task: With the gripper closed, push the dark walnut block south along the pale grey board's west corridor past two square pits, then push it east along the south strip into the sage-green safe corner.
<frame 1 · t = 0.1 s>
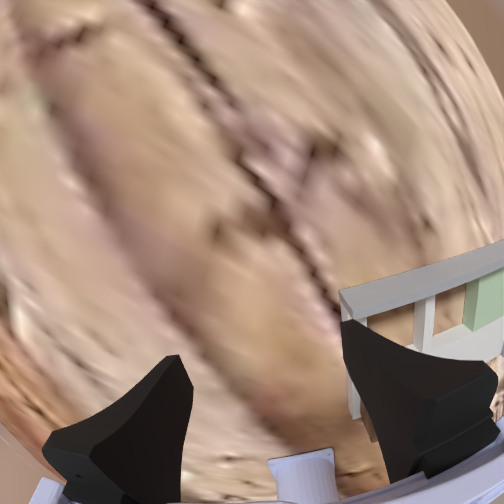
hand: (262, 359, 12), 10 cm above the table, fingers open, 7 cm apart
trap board: (437, 330, 23), on the table
walnut block: (382, 391, 23), point 2 cm above the table, touching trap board
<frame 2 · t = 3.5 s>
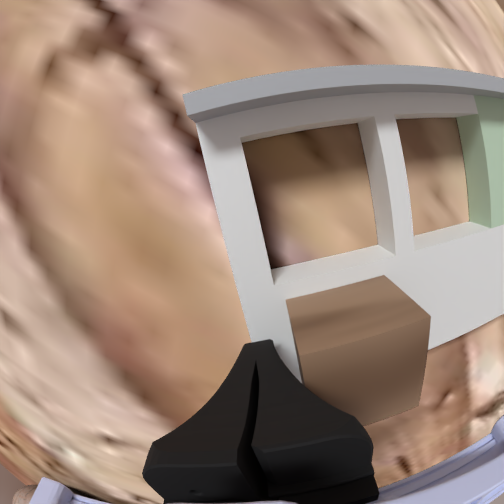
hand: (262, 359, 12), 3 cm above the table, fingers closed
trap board: (425, 223, 13), on the table
walnut block: (341, 331, 12), point 2 cm above the table, touching gripper
cooking pot: (86, 499, 24), on the table
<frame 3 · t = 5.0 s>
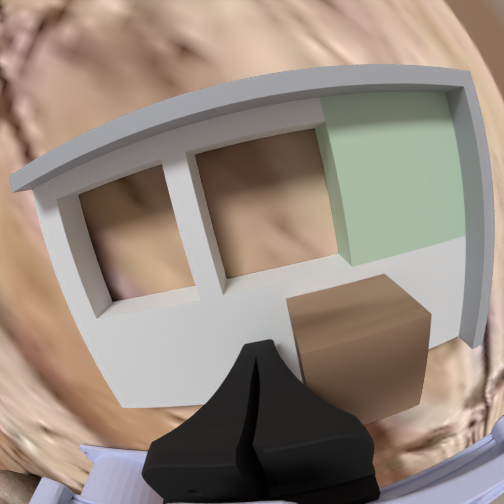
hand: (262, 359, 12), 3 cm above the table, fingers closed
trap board: (265, 260, 14), on the table
walnut block: (342, 329, 12), point 2 cm above the table, touching gripper, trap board
cooking pot: (50, 487, 24), on the table
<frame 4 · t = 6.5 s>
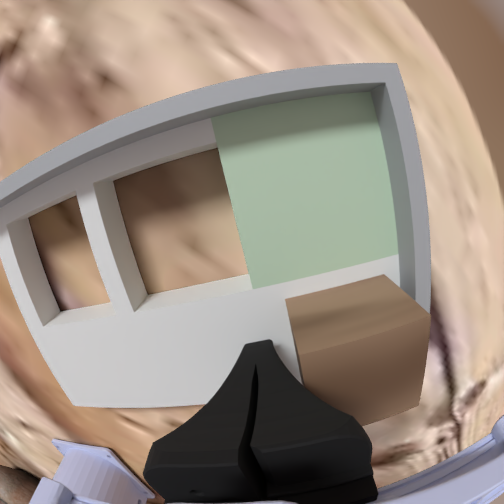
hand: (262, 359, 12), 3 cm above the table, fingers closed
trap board: (180, 278, 14), on the table
walnut block: (341, 330, 12), point 2 cm above the table, touching gripper, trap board
cooking pot: (36, 481, 24), on the table
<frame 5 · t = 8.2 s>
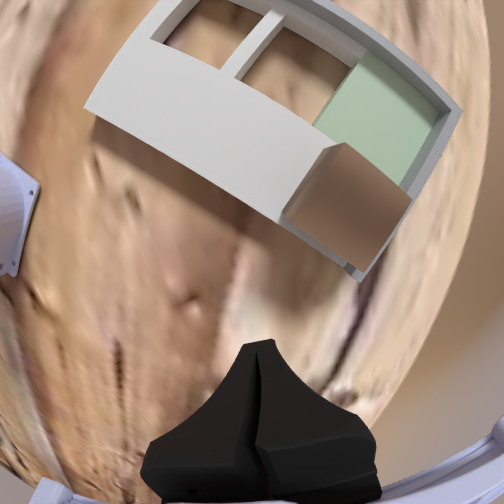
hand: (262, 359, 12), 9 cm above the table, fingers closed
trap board: (265, 96, 17), on the table
walnut block: (333, 201, 17), point 2 cm above the table, touching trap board
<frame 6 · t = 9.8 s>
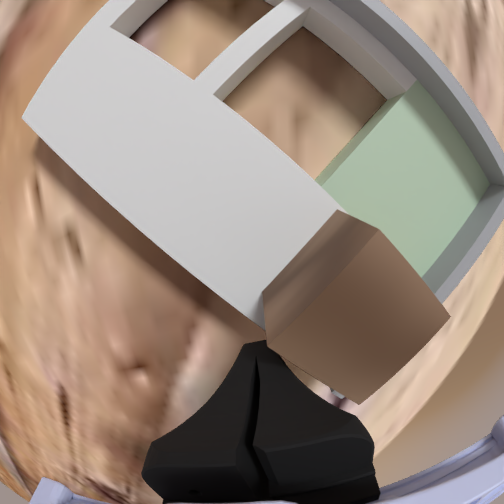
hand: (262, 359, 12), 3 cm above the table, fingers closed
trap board: (259, 124, 12), on the table
walnut block: (337, 284, 12), point 2 cm above the table, touching gripper
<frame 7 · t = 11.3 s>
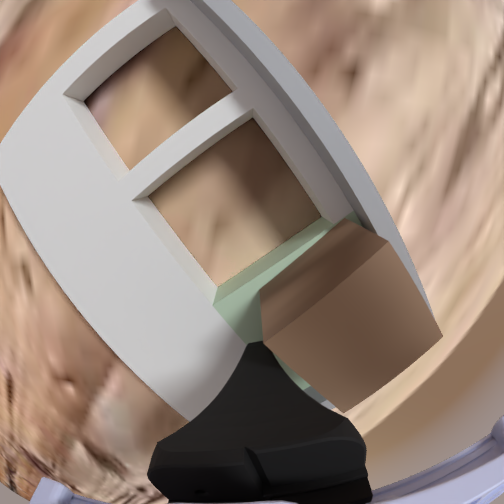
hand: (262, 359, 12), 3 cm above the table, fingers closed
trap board: (180, 223, 13), on the table
walnut block: (333, 292, 12), point 2 cm above the table, touching gripper, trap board
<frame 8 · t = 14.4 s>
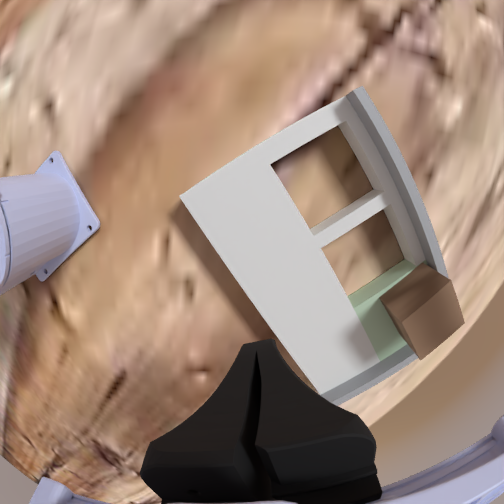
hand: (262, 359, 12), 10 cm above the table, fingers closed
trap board: (332, 259, 22), on the table
walnut block: (411, 299, 20), point 2 cm above the table, touching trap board
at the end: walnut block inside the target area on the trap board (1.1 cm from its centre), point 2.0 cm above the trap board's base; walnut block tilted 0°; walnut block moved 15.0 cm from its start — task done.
